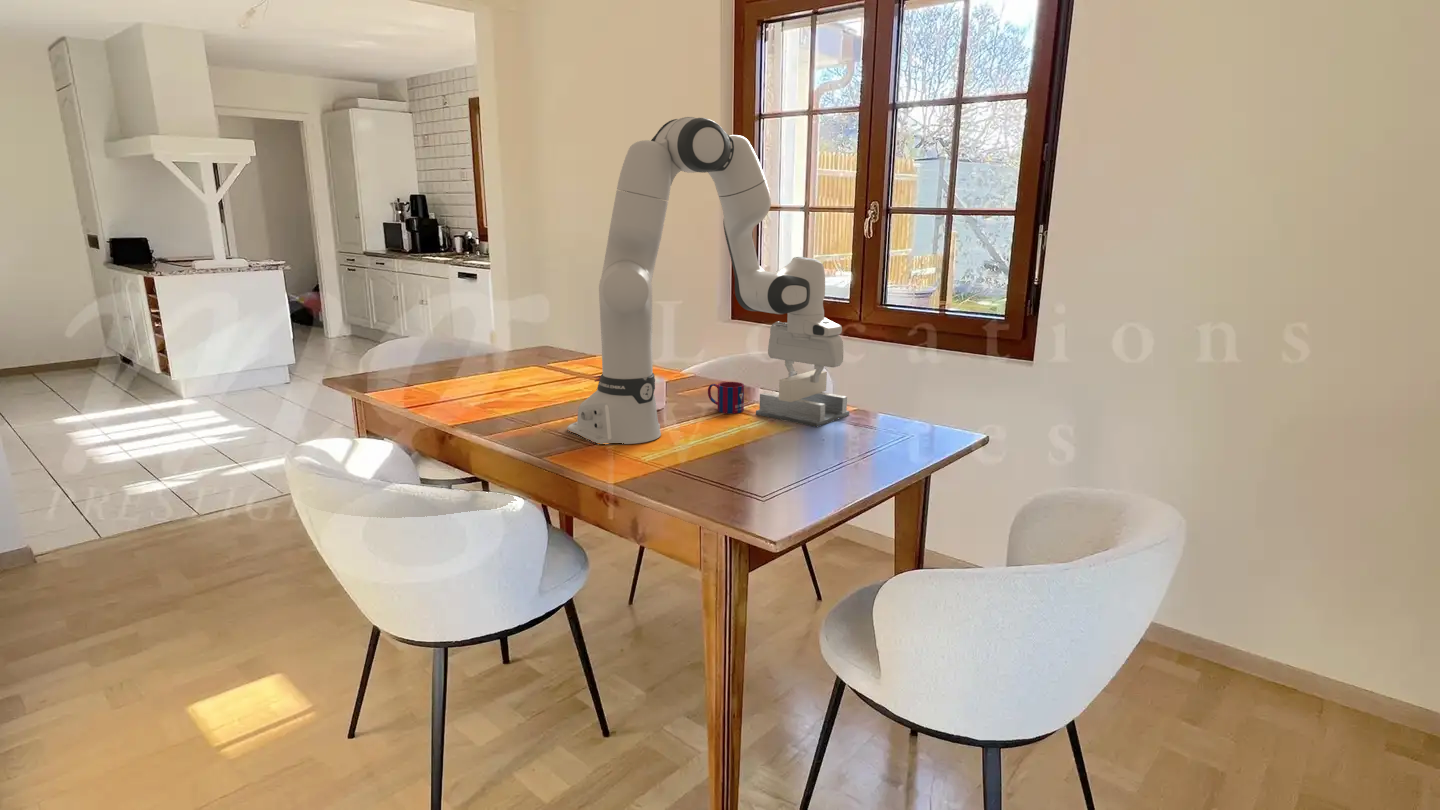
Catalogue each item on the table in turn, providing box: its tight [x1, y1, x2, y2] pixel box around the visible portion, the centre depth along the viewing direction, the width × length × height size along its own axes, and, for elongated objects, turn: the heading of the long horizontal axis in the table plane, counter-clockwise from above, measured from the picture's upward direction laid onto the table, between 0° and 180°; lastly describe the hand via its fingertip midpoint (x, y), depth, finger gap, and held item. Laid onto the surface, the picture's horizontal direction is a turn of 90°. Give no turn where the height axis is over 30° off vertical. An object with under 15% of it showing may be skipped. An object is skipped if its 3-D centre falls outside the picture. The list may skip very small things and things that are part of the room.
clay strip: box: [778, 369, 828, 402], centre depth 193 cm, size 4×16×5 cm, turn 141°
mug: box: [707, 381, 745, 415], centre depth 199 cm, size 7×10×7 cm
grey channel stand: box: [755, 391, 851, 428], centre depth 195 cm, size 18×15×5 cm
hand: (803, 380), depth 193 cm, fingers open, 5 cm apart
